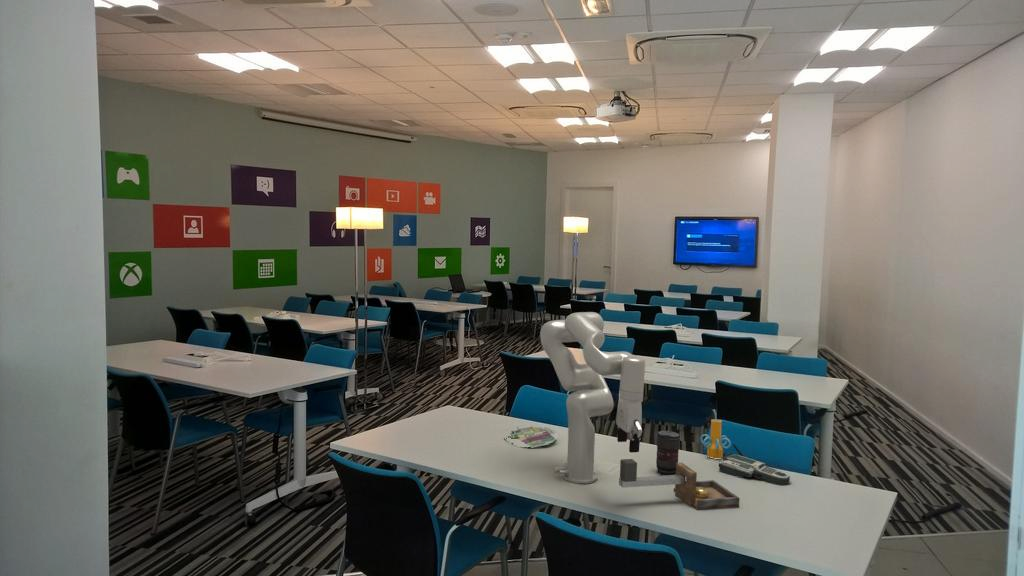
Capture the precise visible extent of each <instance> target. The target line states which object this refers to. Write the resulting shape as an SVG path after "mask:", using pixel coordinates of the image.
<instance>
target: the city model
mask: <svg viewBox="0 0 1024 576" xmlns="http://www.w3.org/2000/svg"><path fill="white" fill-rule="evenodd" d="M516 427H517V429H516V430H512V431H511V433H509V434H510V435H511V436H508V435H507V436H508V438H511V439H518V440H520V441H521V442H524V443H525V444H527V445H529V446H530V447H531V449H533V448H538V447H542V446H546V445H550V444H551V443H552V444H553V443H554V442H555V441H556V440H557V439H558V437H559V433H558V431H557V430H555V429H553V428H550V427H546V426H545V427H543V426H542V427H541V426H539V427H538V426H537V427H536V426H534V427H533V426H529V427H524V428H520V429H519V426H516ZM513 437H514V438H513ZM506 439H507V438H506Z"/></svg>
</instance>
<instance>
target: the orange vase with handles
mask: <svg viewBox="0 0 1024 576" xmlns="http://www.w3.org/2000/svg"><path fill="white" fill-rule="evenodd" d="M722 422H723V421H722V420H721V419H715V418H714V419H711V420H710V435H709V434H706V433H705V434H704V433H703V434H702V435H701V436H700V442H701V443H702V444H703V447H705V448H707V449H706V450H707V452H706V456H709V457H713V458H722V459H723V457H724V456H723V454H724V449H730V448H731V446H732V442H731V440H730V439H729V438H728V437H727V436H726V435H724V434H723V435H722ZM704 437H705V438H704ZM703 438H704V439H703ZM707 440H708V441H707ZM706 441H707V442H706ZM723 441H724V443H723ZM727 443H728V445H727ZM725 445H727V446H725ZM709 457H708V458H709Z"/></svg>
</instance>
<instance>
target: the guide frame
mask: <svg viewBox="0 0 1024 576" xmlns="http://www.w3.org/2000/svg"><path fill="white" fill-rule="evenodd" d="M697 474H698V473H697V472H696V471H695V470H694V469H692V468H691V467H689V466H688V465H686V464H685V463H683V462H678V463H676V474H675V475H682V476H684V477H685V484H674V488H673V493H674V495H675V496H676V497H677V498H678V499H680V500H681V501H682V502H683V503H684V504H686V505H687V506H688V507H693V508H694V509H695V510H696V511H703V510H705V511H707V510H715V509H716V510H717V509H731V508H732V509H733V508H740V497H738V495H736V494H734V493H732V491H730V490H729V489H728V488H725V487H724V486H723V485H721V484H719V483H718V482H717V481H715V480H713V479H711V480H697V478H698V477H697ZM696 487H704V488H707V489H708V498H706V499H701V498H697V497H696Z"/></svg>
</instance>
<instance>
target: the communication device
mask: <svg viewBox="0 0 1024 576" xmlns="http://www.w3.org/2000/svg"><path fill="white" fill-rule="evenodd" d="M732 446H733V447H734V448H735V450H736V452H737V453H738V454H733V453H731V452H729V453H727V454H726V455H724V456H723V458H722V460H721V461H719V462H718V471H719V472H721V473H724V474H726V473H727V475H729V476H734V477H736V476H737V477H738V478H744V477H745V478H756V479H758V480H762V481H763V482H767V483H770V484H774V485H779V486H785V485H786V486H787V485H788V484H789V483H790V479H791V477H790V475H789V474H788V473H787V472H785V471H783V470H780V469H779V470H778V469H775V468H773V467H770V466H766V463H765V462H762V461H759V460H755V459H752V458H749V457H747V456H744V454H743V452H741V451H740V449H739V448H738V447H737V446H736V444H735V443H733V444H732Z"/></svg>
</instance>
